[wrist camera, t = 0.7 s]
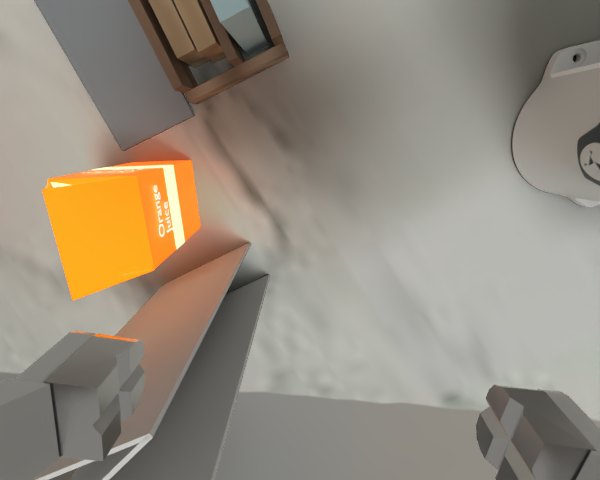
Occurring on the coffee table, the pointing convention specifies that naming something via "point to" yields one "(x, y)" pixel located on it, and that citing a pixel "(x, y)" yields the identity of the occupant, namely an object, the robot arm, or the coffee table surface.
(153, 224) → the orange juice
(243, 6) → the light blue slab
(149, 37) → the rack
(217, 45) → the offcut
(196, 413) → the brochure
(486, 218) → the coffee table surface
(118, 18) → the mat
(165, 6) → the offcut
